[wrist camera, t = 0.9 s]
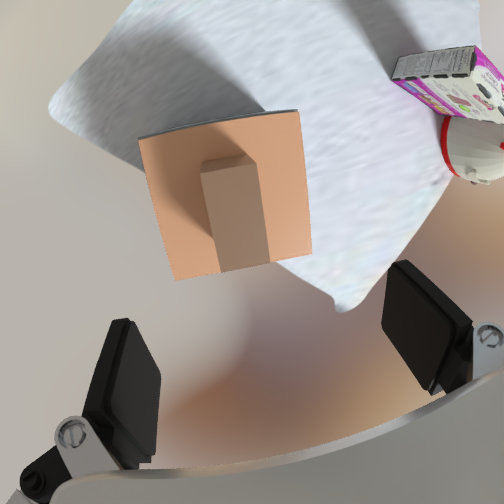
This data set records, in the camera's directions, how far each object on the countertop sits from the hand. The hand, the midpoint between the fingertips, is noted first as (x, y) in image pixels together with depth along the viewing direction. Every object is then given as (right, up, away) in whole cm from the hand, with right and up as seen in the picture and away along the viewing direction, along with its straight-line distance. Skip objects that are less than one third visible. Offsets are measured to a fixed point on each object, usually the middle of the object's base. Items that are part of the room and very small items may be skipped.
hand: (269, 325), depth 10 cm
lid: (-3, +8, +16) cm, 18 cm away
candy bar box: (+25, +28, +24) cm, 45 cm away
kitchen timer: (+37, +22, +29) cm, 52 cm away
